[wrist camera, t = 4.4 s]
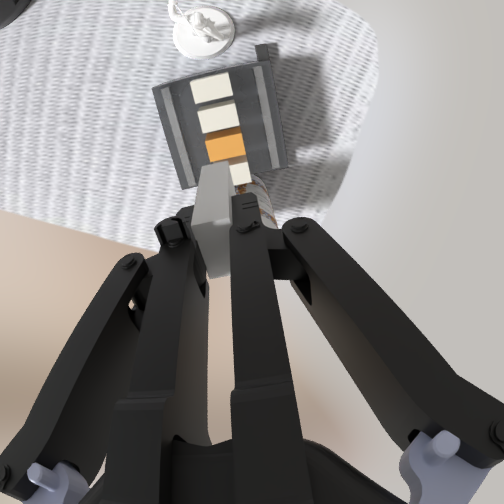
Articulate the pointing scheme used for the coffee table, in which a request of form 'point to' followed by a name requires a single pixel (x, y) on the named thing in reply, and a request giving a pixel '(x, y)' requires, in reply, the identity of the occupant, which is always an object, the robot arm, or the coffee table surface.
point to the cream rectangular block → (211, 87)
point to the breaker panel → (250, 122)
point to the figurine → (201, 31)
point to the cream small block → (238, 169)
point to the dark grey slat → (262, 54)
